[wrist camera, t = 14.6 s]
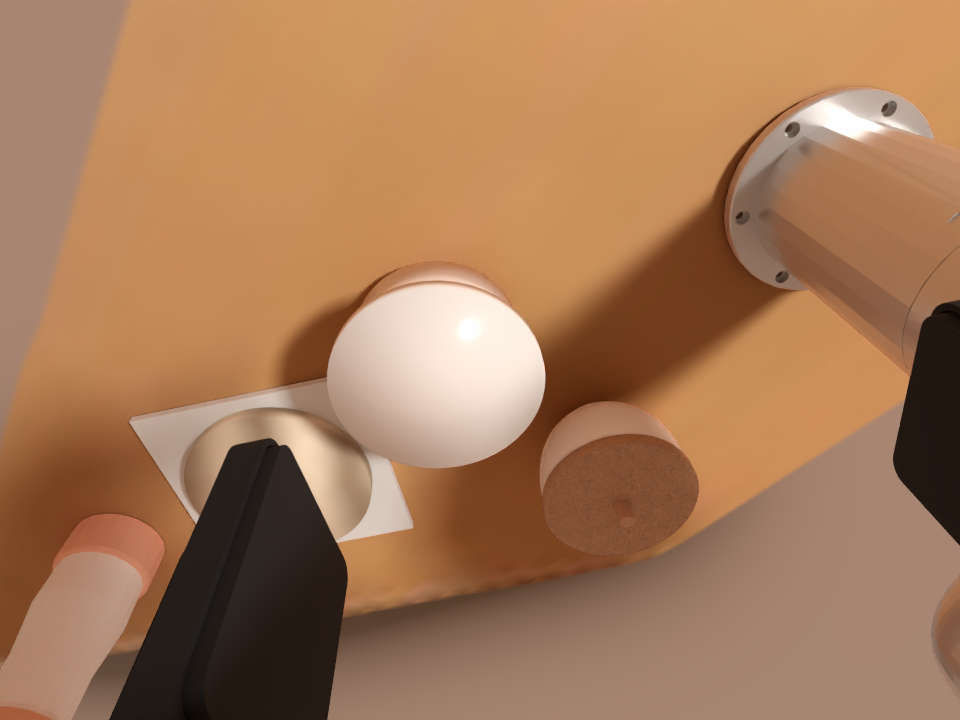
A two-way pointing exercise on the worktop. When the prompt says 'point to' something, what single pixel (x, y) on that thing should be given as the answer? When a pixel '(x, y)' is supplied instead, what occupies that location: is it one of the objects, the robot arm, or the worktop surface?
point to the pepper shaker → (78, 616)
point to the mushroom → (436, 368)
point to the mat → (181, 427)
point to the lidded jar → (614, 480)
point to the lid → (316, 447)
